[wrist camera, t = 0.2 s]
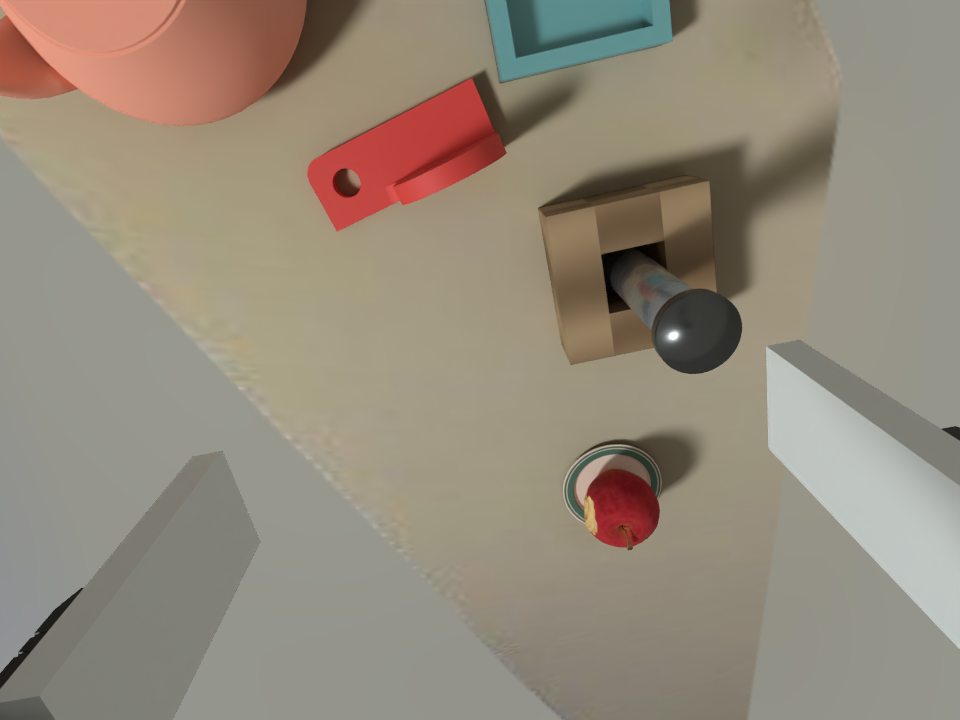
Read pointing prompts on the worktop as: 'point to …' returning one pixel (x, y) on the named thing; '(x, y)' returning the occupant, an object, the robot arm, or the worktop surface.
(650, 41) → the tray
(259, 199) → the worktop surface
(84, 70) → the teapot
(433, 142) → the bracket
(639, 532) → the apple
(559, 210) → the block
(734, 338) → the pin
